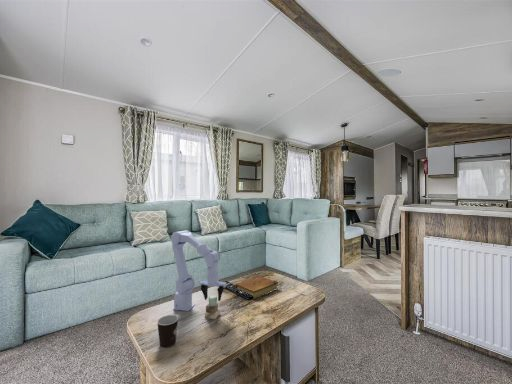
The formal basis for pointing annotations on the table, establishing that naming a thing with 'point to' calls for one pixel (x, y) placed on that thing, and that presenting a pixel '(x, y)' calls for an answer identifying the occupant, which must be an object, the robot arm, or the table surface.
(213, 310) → the walnut top block
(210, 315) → the oak base block
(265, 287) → the diary
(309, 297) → the table surface
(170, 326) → the coffee mug
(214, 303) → the pale green short cylinder
